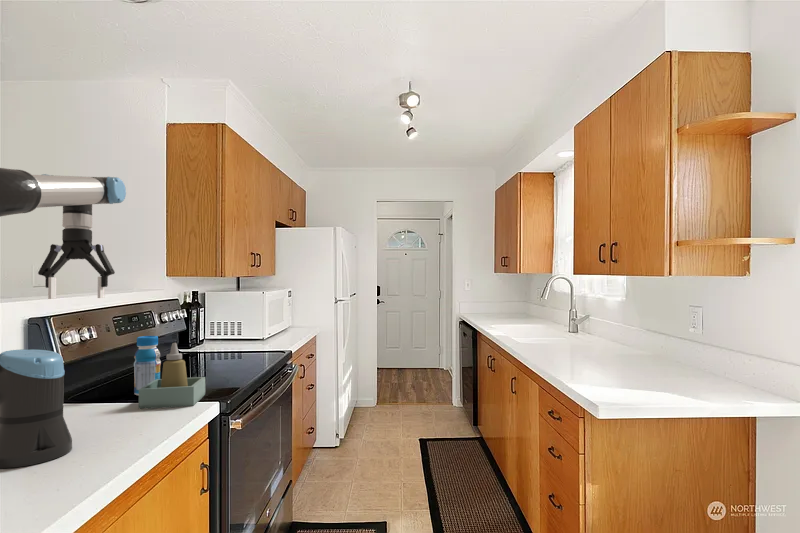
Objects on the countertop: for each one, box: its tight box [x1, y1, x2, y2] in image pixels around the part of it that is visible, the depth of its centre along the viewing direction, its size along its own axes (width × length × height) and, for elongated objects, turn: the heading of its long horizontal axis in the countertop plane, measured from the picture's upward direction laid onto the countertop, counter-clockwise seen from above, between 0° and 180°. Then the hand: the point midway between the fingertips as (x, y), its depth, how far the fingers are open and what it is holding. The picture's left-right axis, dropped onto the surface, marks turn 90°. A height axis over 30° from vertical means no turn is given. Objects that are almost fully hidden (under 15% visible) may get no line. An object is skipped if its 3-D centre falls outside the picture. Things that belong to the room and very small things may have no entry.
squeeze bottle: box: [161, 342, 188, 388], centre depth 156 cm, size 8×8×18 cm
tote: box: [138, 376, 206, 409], centre depth 156 cm, size 16×16×6 cm
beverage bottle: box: [133, 335, 162, 396], centre depth 169 cm, size 8×8×20 cm
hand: (76, 298), depth 144 cm, fingers open, 13 cm apart
